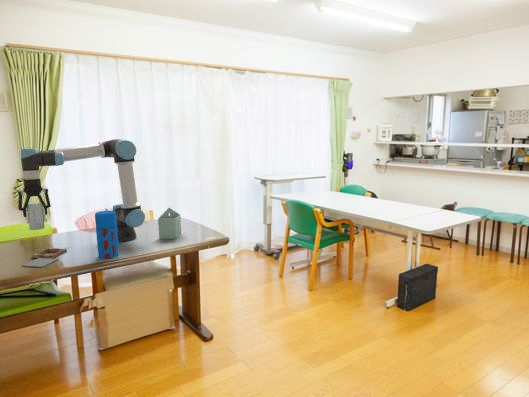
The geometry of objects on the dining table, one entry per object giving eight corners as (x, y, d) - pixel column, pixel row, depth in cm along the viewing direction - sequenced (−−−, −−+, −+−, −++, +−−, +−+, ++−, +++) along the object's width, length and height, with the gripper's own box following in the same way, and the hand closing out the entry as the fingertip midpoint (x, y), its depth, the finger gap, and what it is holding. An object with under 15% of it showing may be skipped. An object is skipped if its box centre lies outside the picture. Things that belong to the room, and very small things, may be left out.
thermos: (102, 253, 217) (98, 210, 212) (121, 252, 218) (118, 210, 213) (95, 259, 206) (91, 214, 202) (115, 258, 207) (112, 214, 203)
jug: (27, 227, 199) (25, 203, 197) (42, 225, 204) (40, 202, 202) (31, 232, 189) (29, 207, 187) (47, 230, 194) (45, 205, 191)
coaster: (58, 260, 205) (58, 258, 205) (42, 267, 193) (42, 266, 193) (39, 258, 207) (39, 257, 207) (22, 266, 195) (21, 265, 195)
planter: (165, 241, 240) (163, 211, 236) (159, 238, 245) (157, 209, 242) (187, 236, 251) (185, 207, 247) (181, 234, 256) (179, 205, 253)
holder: (66, 252, 218) (66, 248, 218) (52, 258, 207) (51, 255, 206) (48, 251, 220) (48, 247, 220) (32, 257, 209) (32, 254, 209)
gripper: (9, 180, 184) (14, 226, 188) (54, 177, 197) (59, 220, 201) (7, 179, 190) (12, 223, 194) (52, 176, 202) (56, 218, 206)
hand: (36, 221), depth 197 cm, fingers closed on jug, 7 cm apart
